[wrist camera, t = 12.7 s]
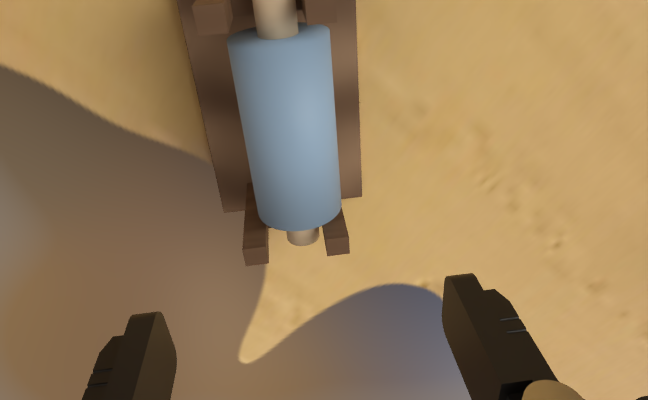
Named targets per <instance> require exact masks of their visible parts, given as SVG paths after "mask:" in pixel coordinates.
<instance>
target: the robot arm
mask: <svg viewBox="0 0 648 400" xmlns="http://www.w3.org/2000/svg"><path fill="white" fill-rule="evenodd" d="M442 323H443V328H444V332H445V335H446V338H447V341H448V343H449V345H450V348H451V350H452V353H453V355H454V358H455V360H456V362H457V365H458V367H459V370H460V372H461V374H462V377H463V379H464V382H465V384H466V387H467V389H468V392H469V394H470V397H471V399H472V400H584V399H583V398H582V397H581V396H580V395H579V394H578V393H577V392H576V391H575V390H573V389H572V388H570V387H569V386H567V385H565V384H563V383H560V382H559V381H558V380H557V378H556V377H555V375H554V374H553V372H552V370H551V369H550V367H549V365H548V364H547V362H546V360H545V359H544V357H543V356H542V354H541V352H540V351H539V349H538V347H537V346H536V344H535V342H534V341H533V339H532V337H531V336H530V334H529V332H527V331H526V327H525V326H524V324H523V323H522V321H521V319H519V316H518V314H517V313H516V311H515V309H514V308H513V306H512V304H511V303H510V301H509V300H507V299H506V298H505V297H504V296H502V295H501V294H500V293H499V292H497V291H496V290H495V289H491V290H484V291H483V289H482V287H481V285H480V283H479V282H478V280H477V278H476V276H475V275H474V274H473V273H469V274H461V275H453V276H446V278H445V282H444V294H443V307H442ZM176 365H177V358H176V350H175V347H174V344H173V341H172V338H171V335H170V333H169V330H168V327H167V325H166V322H165V319H164V316H163V314H162V313H161V312H151V313H143V314H136V315H132V316H131V317H130V319H129V321H128V324H127V327H126V331H125V333H124V335H123V336H115V337H112V339H111V340H110V341H109V342H108V344H107V345H106V346H105V347H104V348H103V349H102V351H101V352H100V353H99V356H98V358H97V361H96V364H95V367H94V369H93V374H91V377H90V379H89V382H88V388H87V389H86V390H85V393H84V395H83V398H82V400H170V398H171V393H172V388H173V383H174V378H175V373H176ZM636 400H648V396H644V397H640V398H638V399H636Z"/></svg>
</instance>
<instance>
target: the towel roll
mask: <svg viewBox="0 0 648 400" xmlns="http://www.w3.org/2000/svg"><path fill="white" fill-rule="evenodd" d="M252 2H253V9H254V16H255V22H256V27H252V28H248V29H245V30H242V31H239V32H236V33H234V34H232V35H230V36H229V37H228V38H227V47H228V52H229V58H230V63H231V68H232V74H233V79H234V85H235V90H236V96H237V101H238V107H239V112H240V117H241V123H242V128H243V134H244V139H245V145H246V150H247V156H248V161H249V166H250V172H251V177H252V183H253V188H254V194H255V199H256V204H257V210H258V215H259V218H260V219H261V221H262V222H263V223H265V224H266V225H267V226H269V227H272V228H274V229H278V230H283V231H287V238H288V241H289V242H290V243H291V244H293V245H297V246H306V245H310V244H312V243H314V242H316V241H317V240H318V238H319V227H320V226H322V225H324V224H326V223H328V222H330V221H331V220H332V219H334V218H335V217H336V216H337V215H338V213H339V212H340V209H341V205H342V204H341V189H340V174H339V160H338V145H337V130H336V116H335V101H334V87H333V72H332V57H331V43H330V30H329V28H328V27H327V26H324V25H321V24H316V25H307V23H306V22H298V20H297V11H296V1H295V0H252Z"/></svg>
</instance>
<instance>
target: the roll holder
mask: <svg viewBox="0 0 648 400" xmlns="http://www.w3.org/2000/svg"><path fill="white" fill-rule="evenodd" d="M295 1H296V11H297V20H298V22H306V23H307V25H316V24H321V25H324V26H327V27H328V28H329V30H330V43H331V57H332V72H333V87H334V101H335V116H336V130H337V145H338V160H339V174H340V189H341V199H346V198H355V197H362V179H361V149H360V119H359V89H358V59H357V30H356V0H295ZM177 4H178V9H179V13H180V17H181V22H182V26H183V31H184V35H185V40H186V44H187V49H188V53H189V58H190V62H191V67H192V71H193V76H194V80H195V85H196V89H197V94H198V98H199V103H200V107H201V112H202V116H203V120H204V125H205V129H206V134H207V138H208V143H209V147H210V152H211V156H212V161H213V165H214V170H215V174H216V179H217V183H218V188H219V192H220V197H221V201H222V205H223V210H224V213H226V212H234V211H242V210H245V221H244V236H243V249H242V250H243V254H244V259H245V264H246V266H250V265H259V264H267V263H269V248H268V228H272V227H269V226H267V225H266V224H265V223H263V222H262V221H261V219H260V218H259V215H258V210H257V204H256V199H255V194H254V188H253V183H252V177H251V172H250V166H249V161H248V156H247V150H246V145H245V139H244V134H243V128H242V123H241V117H240V112H239V107H238V101H237V96H236V90H235V85H234V79H233V74H232V68H231V63H230V58H229V52H228V47H227V38H228V37H229V36H230V35H232V34H234V33H236V32H239V31H242V30H245V29H248V28H252V27H256V22H255V16H254V9H253V2H252V0H177ZM322 228H323V234H324V240H325V245H326V251H327V256H333V255H341V254H349V253H350V250H349V236H348V232H347V228H346V224H345V220H344V216H343V212H342V208H341V209H340V212H339V213H338V215H337V216H336V217H335V218H334V219H332V220H331V221H330V222H328V223H326V224H324V225H322Z"/></svg>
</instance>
